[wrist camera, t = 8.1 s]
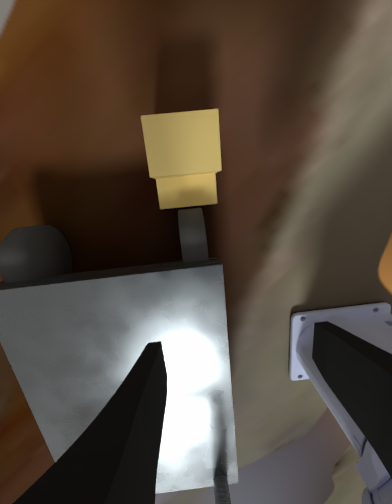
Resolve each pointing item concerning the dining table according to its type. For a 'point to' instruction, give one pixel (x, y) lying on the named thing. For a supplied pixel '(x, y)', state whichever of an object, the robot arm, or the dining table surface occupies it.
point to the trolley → (123, 346)
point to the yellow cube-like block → (183, 156)
